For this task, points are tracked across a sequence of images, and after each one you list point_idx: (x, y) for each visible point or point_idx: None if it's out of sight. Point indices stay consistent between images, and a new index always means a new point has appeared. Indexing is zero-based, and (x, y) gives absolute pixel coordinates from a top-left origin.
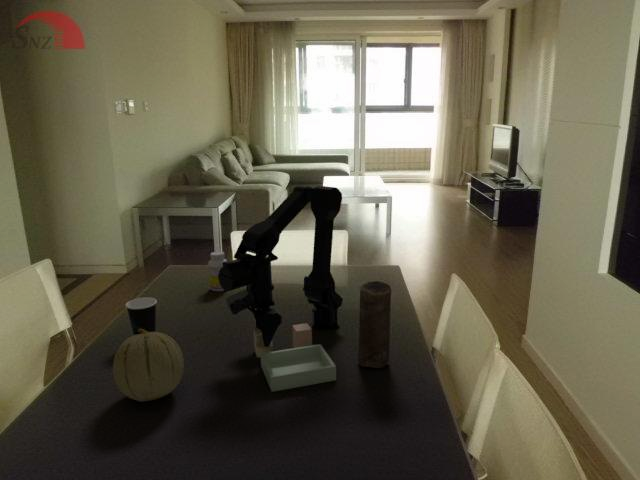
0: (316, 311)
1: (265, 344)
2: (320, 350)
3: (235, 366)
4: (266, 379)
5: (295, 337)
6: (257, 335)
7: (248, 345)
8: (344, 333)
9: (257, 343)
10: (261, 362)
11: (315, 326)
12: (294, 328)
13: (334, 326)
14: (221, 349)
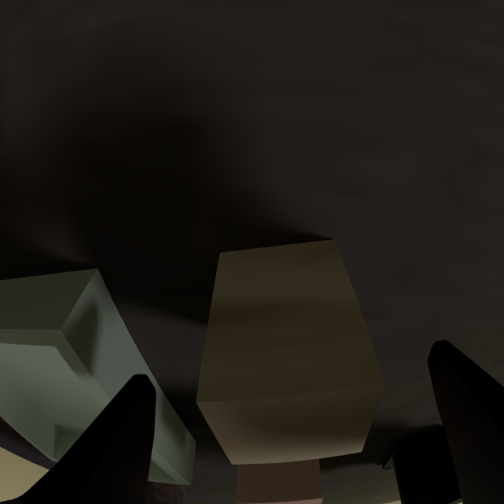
0: (427, 490)
1: (123, 393)
2: (149, 473)
3: (102, 104)
4: (1, 280)
5: (261, 464)
6: (201, 408)
7: (427, 204)
8: (342, 472)
9: (209, 336)
10: (69, 292)
11: (422, 437)
12: (276, 502)
13: (387, 465)
14: (423, 4)
